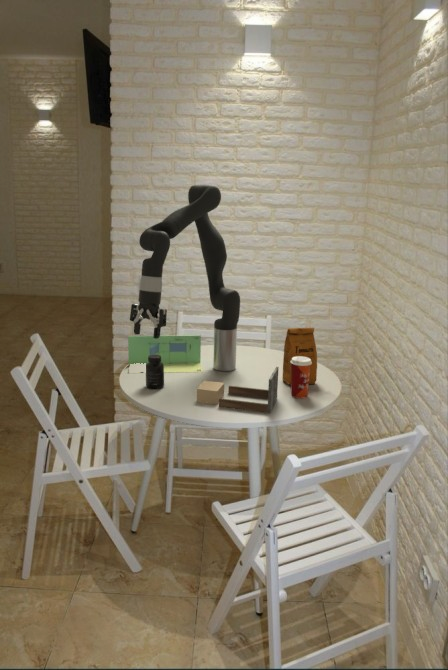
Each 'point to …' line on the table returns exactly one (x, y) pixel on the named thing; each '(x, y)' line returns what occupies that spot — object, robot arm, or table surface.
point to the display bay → (253, 392)
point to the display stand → (167, 351)
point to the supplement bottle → (154, 372)
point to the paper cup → (300, 376)
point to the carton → (210, 392)
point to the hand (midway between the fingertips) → (146, 336)
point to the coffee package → (300, 351)
